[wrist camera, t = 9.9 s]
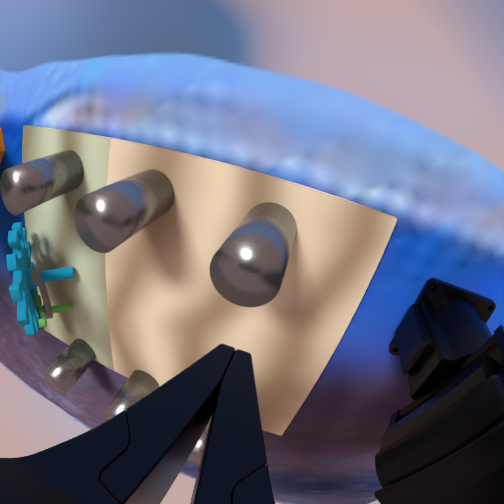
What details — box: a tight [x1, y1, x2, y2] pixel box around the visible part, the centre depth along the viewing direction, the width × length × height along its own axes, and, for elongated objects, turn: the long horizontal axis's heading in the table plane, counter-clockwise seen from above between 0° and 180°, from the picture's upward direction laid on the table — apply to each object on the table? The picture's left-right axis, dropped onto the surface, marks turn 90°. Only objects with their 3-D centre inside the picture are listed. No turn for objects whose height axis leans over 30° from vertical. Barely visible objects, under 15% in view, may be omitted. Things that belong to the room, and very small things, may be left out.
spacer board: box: [22, 125, 397, 436], centre depth 24 cm, size 30×24×1 cm
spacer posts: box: [0, 150, 297, 465], centre depth 22 cm, size 19×23×6 cm
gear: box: [6, 222, 74, 335], centre depth 23 cm, size 11×6×10 cm
